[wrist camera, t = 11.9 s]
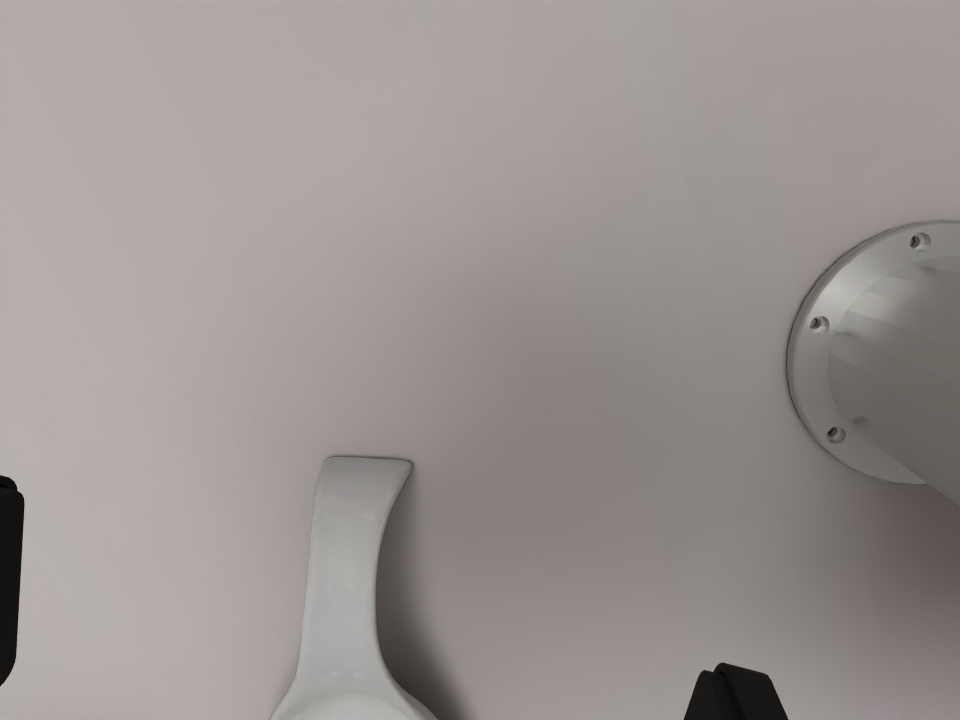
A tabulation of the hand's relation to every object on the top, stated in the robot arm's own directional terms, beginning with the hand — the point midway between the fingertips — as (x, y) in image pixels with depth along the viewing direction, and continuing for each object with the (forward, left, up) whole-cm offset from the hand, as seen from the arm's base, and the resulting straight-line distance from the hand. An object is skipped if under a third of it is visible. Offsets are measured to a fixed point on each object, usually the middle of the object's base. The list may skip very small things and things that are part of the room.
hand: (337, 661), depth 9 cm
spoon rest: (+1, +20, -27) cm, 33 cm away
